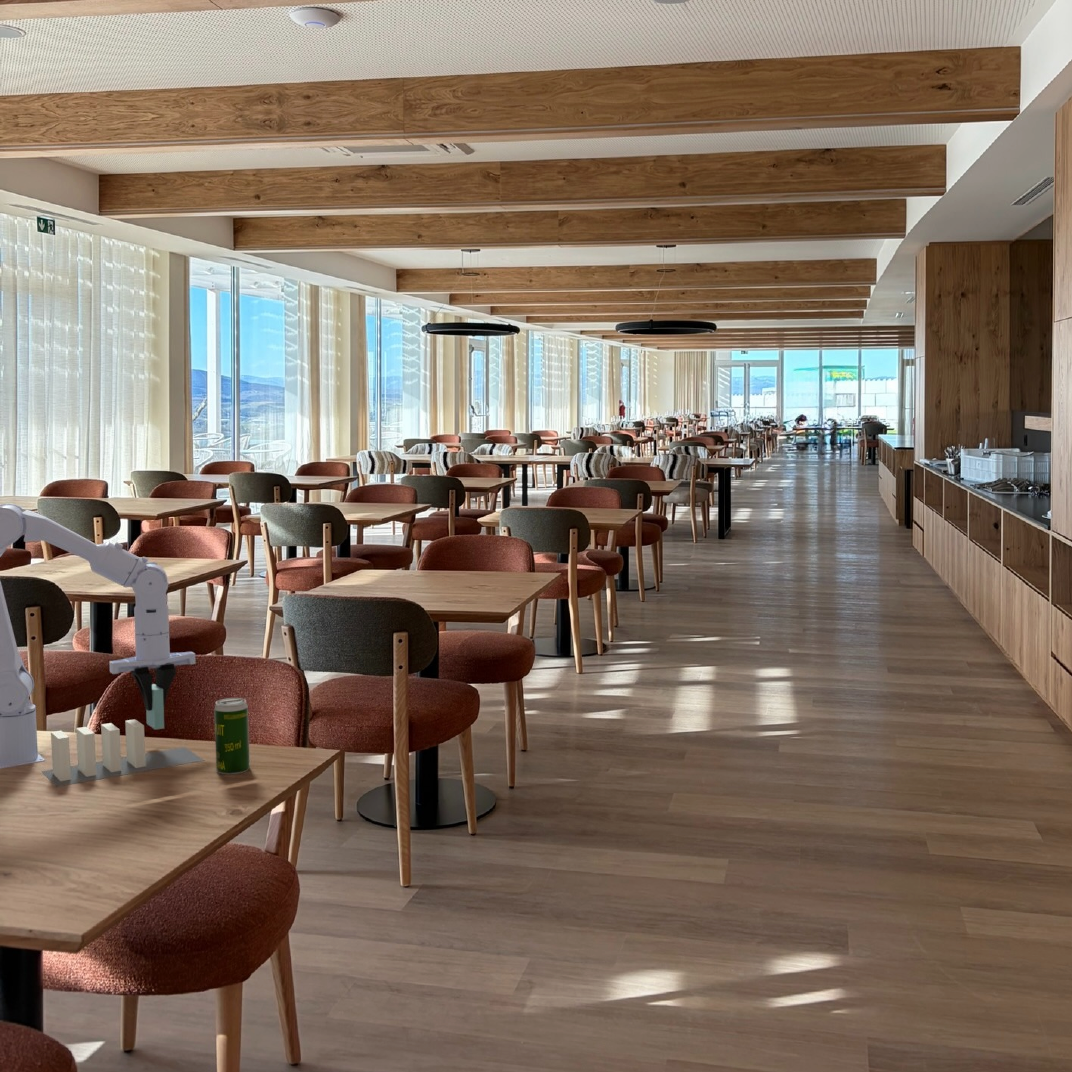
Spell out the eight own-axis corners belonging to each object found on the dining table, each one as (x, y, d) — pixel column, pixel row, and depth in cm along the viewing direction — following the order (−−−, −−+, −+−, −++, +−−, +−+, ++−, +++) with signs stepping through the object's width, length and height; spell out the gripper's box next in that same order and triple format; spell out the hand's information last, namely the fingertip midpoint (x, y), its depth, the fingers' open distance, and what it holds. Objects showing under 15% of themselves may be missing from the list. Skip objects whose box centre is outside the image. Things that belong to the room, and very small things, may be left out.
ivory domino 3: (111, 772, 193) (109, 730, 193) (102, 765, 197) (101, 724, 197) (121, 770, 194) (119, 729, 194) (112, 763, 198) (110, 722, 198)
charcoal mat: (41, 774, 194) (41, 771, 194) (184, 749, 208) (184, 747, 208) (56, 789, 186) (56, 786, 186) (204, 763, 200) (204, 760, 200)
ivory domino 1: (60, 781, 189) (58, 738, 188) (52, 773, 193) (50, 732, 192) (70, 779, 190) (68, 737, 189) (63, 771, 194) (61, 730, 193)
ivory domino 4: (135, 768, 196) (134, 726, 195) (127, 760, 200) (125, 720, 199) (145, 766, 197) (143, 725, 196) (136, 759, 201) (134, 719, 200)
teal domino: (155, 729, 205) (153, 690, 205) (146, 723, 209) (145, 685, 209) (164, 728, 206) (163, 689, 205) (155, 722, 210) (154, 683, 210)
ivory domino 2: (86, 776, 191) (84, 734, 190) (78, 769, 195) (76, 728, 194) (96, 775, 192) (94, 733, 191) (88, 767, 196) (86, 726, 195)
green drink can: (242, 765, 198) (239, 696, 197) (255, 773, 194) (253, 702, 193) (211, 771, 195) (208, 700, 194) (224, 779, 191) (221, 707, 190)
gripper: (116, 640, 199) (119, 719, 200) (200, 631, 207) (202, 706, 208) (104, 634, 204) (107, 710, 206) (186, 625, 213) (189, 699, 214)
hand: (154, 708), depth 207 cm, fingers closed on teal domino, 1 cm apart
